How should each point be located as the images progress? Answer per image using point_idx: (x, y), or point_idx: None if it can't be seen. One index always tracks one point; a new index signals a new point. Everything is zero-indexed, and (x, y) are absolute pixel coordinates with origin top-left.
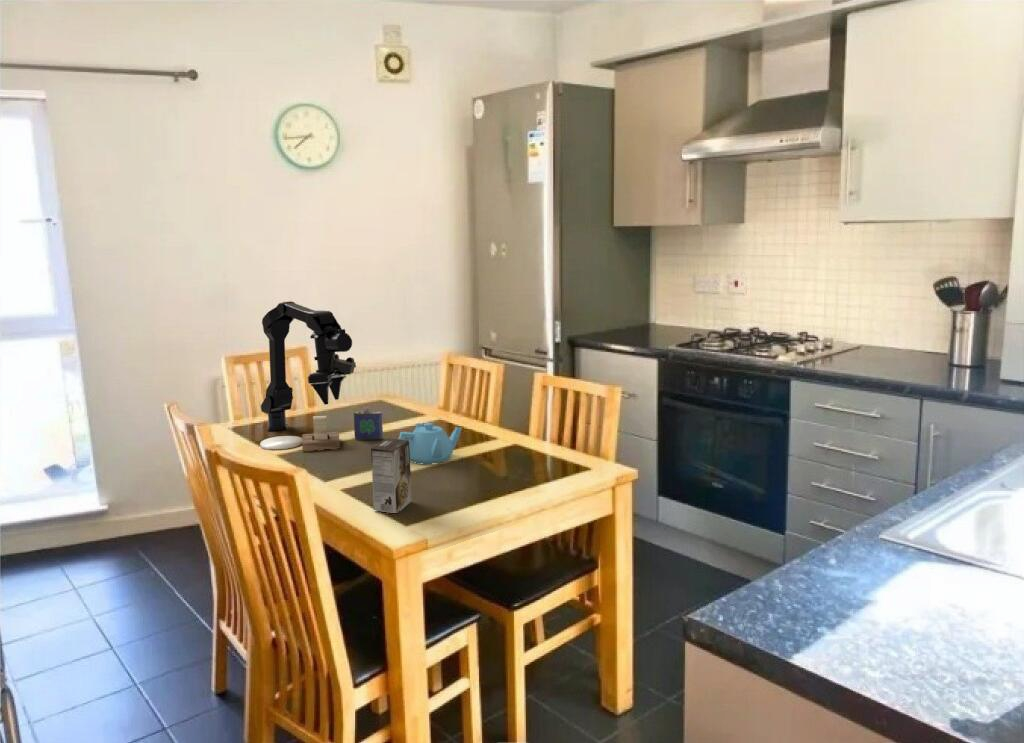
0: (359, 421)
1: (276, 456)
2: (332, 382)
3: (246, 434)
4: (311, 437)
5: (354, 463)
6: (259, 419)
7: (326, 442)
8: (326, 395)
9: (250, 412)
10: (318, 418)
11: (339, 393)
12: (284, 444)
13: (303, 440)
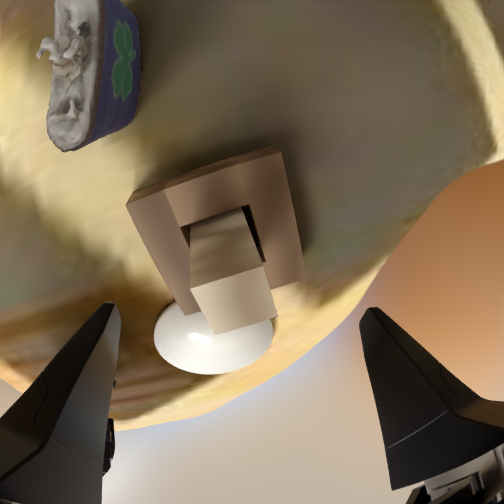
0: (111, 100)
1: (329, 306)
2: (85, 472)
3: (149, 403)
4: None
5: (425, 83)
6: None
7: (291, 203)
8: (427, 359)
9: None
10: (255, 303)
11: (77, 335)
12: (245, 327)
13: None
